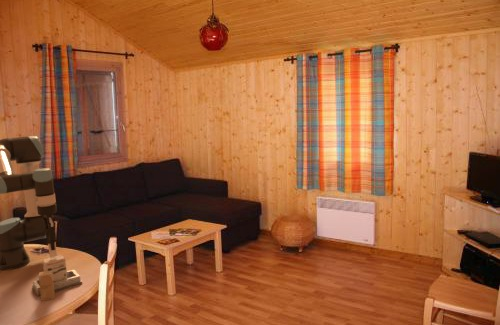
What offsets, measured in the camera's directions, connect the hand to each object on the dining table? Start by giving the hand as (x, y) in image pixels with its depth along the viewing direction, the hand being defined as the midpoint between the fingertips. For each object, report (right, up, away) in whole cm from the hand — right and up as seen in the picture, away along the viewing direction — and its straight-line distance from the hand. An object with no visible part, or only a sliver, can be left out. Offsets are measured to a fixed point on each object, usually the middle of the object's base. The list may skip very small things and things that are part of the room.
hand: (53, 256), depth 182 cm
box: (+2, -15, -9) cm, 18 cm away
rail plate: (+1, -14, +2) cm, 14 cm away
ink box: (+1, -13, +2) cm, 13 cm away
